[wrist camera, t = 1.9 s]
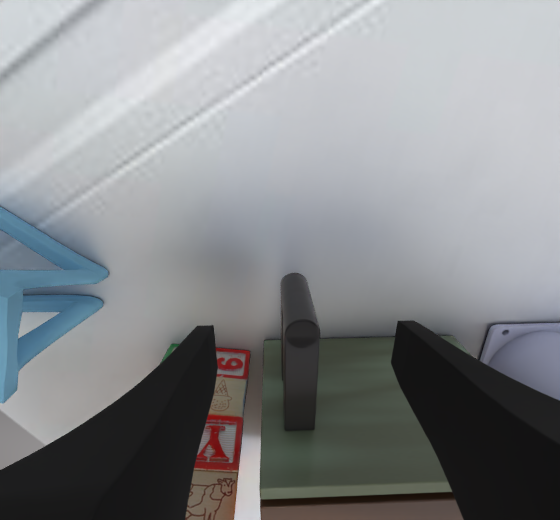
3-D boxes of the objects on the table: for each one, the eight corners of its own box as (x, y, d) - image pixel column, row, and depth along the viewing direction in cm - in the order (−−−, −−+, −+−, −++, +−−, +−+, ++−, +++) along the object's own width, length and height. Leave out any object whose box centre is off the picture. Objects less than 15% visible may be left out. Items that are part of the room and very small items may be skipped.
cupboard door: (261, 256, 20) (253, 364, 10) (474, 252, 20) (660, 353, 10) (264, 348, 22) (260, 500, 13) (450, 343, 23) (580, 487, 13)
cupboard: (264, 349, 23) (260, 507, 13) (448, 344, 23) (580, 494, 13) (267, 439, 26) (265, 615, 17) (425, 433, 27) (515, 602, 17)
